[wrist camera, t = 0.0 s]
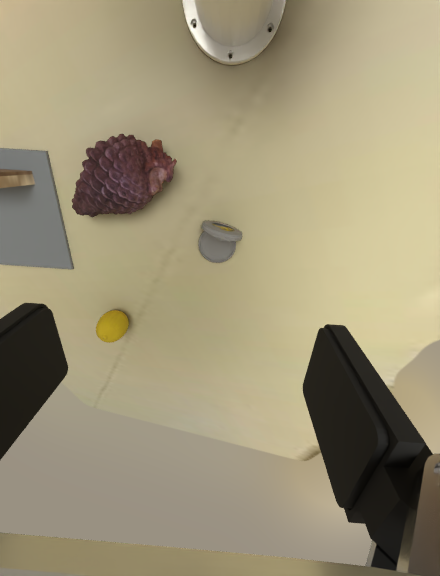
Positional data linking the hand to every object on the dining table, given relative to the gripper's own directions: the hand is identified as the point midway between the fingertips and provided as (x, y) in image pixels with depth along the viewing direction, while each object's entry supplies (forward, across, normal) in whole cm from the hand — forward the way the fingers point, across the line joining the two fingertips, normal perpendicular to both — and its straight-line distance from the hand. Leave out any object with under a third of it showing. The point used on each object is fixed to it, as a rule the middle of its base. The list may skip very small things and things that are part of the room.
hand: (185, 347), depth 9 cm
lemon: (+37, +20, +24) cm, 48 cm away
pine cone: (+37, +15, -3) cm, 40 cm away
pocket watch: (+37, 0, +6) cm, 37 cm away
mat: (+37, +36, +4) cm, 52 cm away
